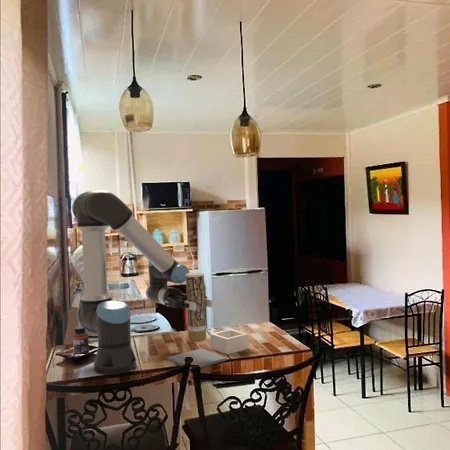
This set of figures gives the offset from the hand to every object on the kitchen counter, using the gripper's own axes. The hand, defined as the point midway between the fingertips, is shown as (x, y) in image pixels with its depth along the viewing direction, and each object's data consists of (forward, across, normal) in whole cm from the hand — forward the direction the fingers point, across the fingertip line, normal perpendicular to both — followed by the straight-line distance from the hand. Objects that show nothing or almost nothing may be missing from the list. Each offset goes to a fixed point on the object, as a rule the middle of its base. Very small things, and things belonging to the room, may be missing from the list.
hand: (203, 305), depth 173 cm
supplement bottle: (-41, +32, -21) cm, 56 cm away
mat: (-5, +1, -22) cm, 22 cm away
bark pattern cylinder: (-5, 0, -14) cm, 15 cm away
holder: (-8, -17, -22) cm, 29 cm away
